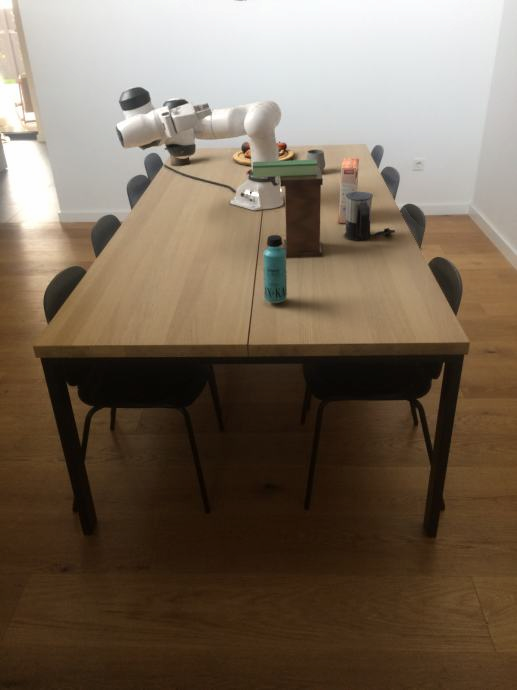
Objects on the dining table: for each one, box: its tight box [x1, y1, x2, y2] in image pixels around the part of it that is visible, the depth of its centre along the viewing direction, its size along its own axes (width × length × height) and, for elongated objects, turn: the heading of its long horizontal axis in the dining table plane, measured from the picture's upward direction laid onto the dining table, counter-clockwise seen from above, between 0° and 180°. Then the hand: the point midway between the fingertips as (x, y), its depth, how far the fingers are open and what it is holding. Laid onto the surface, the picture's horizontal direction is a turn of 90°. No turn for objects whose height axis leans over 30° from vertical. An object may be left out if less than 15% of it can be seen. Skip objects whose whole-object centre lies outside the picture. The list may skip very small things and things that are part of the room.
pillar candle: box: [169, 153, 191, 167], centre depth 295 cm, size 10×10×15 cm
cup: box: [305, 149, 326, 174], centre depth 271 cm, size 10×9×10 cm
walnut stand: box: [280, 167, 324, 259], centre depth 190 cm, size 13×13×26 cm
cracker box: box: [338, 157, 360, 224], centre depth 215 cm, size 14×6×21 cm, turn 168°
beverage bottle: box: [262, 234, 288, 304], centre depth 160 cm, size 6×7×20 cm
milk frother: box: [344, 190, 396, 241], centre depth 200 cm, size 14×16×15 cm
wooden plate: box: [232, 141, 295, 167], centre depth 298 cm, size 32×32×8 cm
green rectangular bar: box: [253, 159, 317, 177], centre depth 182 cm, size 20×5×4 cm, turn 89°
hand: (210, 108), depth 179 cm, fingers open, 8 cm apart
